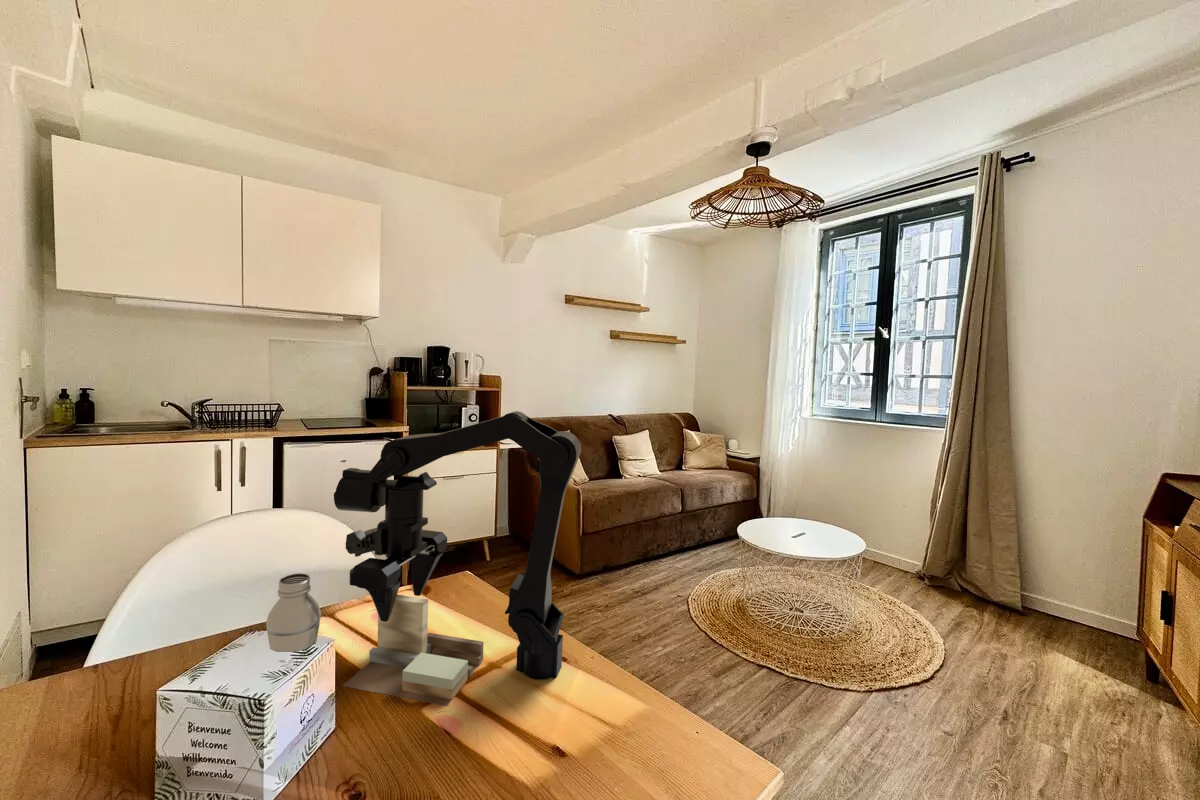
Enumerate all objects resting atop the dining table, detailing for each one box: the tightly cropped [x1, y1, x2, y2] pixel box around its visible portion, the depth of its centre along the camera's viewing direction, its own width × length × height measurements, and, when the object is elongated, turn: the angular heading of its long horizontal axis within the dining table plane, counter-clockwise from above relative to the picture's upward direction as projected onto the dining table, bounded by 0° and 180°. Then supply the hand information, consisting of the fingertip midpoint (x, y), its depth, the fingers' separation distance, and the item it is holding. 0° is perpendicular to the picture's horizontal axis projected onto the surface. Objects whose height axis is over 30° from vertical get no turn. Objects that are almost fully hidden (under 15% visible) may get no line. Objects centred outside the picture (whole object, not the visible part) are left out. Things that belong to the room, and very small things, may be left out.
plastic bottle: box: [265, 572, 322, 652], centre depth 68 cm, size 6×7×20 cm
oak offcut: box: [402, 670, 469, 701], centre depth 76 cm, size 8×5×2 cm, turn 79°
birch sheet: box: [377, 594, 429, 655], centre depth 83 cm, size 8×2×10 cm, turn 79°
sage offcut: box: [402, 653, 468, 690], centre depth 76 cm, size 8×5×2 cm, turn 79°
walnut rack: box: [342, 632, 485, 707], centre depth 79 cm, size 17×12×4 cm
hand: (401, 607), depth 83 cm, fingers open, 9 cm apart
